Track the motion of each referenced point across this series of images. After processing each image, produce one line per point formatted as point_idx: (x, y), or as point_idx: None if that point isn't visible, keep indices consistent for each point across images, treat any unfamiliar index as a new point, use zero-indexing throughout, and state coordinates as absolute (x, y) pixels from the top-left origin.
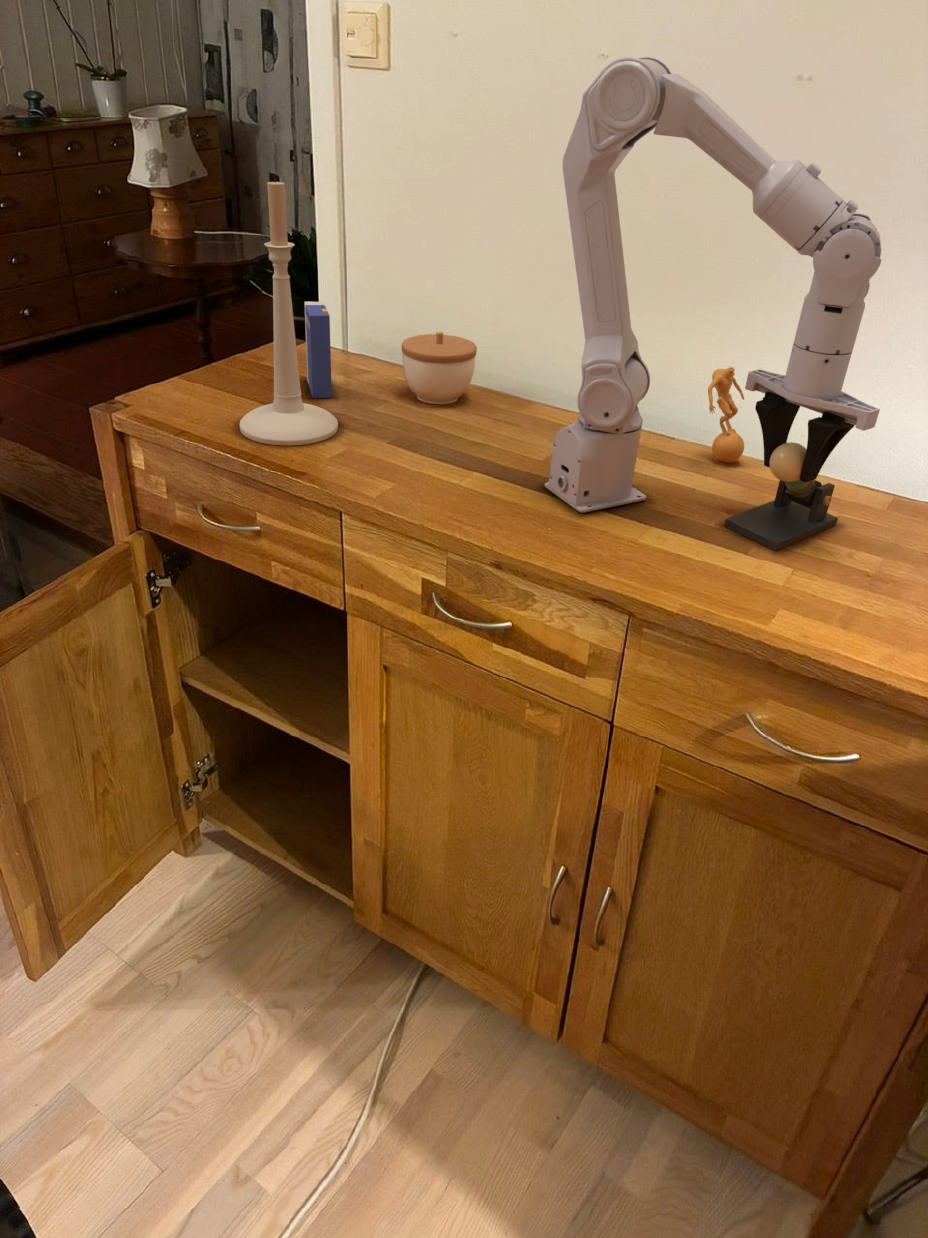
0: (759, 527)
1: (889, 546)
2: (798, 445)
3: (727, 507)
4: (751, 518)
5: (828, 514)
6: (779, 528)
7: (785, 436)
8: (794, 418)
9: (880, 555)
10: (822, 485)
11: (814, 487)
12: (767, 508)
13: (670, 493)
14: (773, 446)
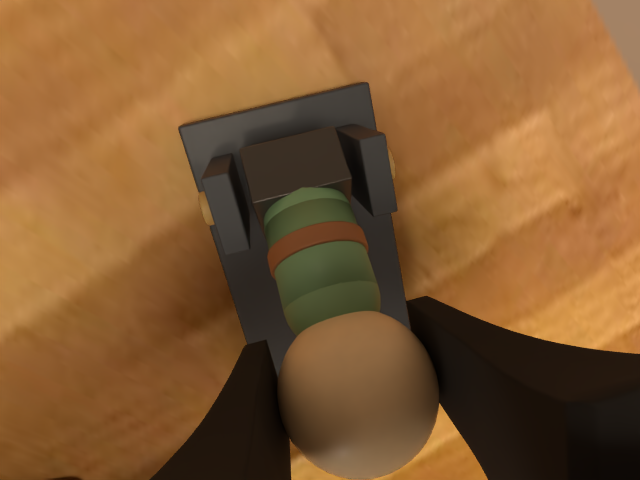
0: None
1: (515, 28)
2: (395, 437)
3: (163, 307)
4: (284, 330)
5: (340, 95)
6: None
7: (262, 413)
8: (250, 446)
9: (533, 100)
10: (369, 184)
11: (346, 197)
12: (245, 251)
13: (40, 402)
14: (284, 456)
